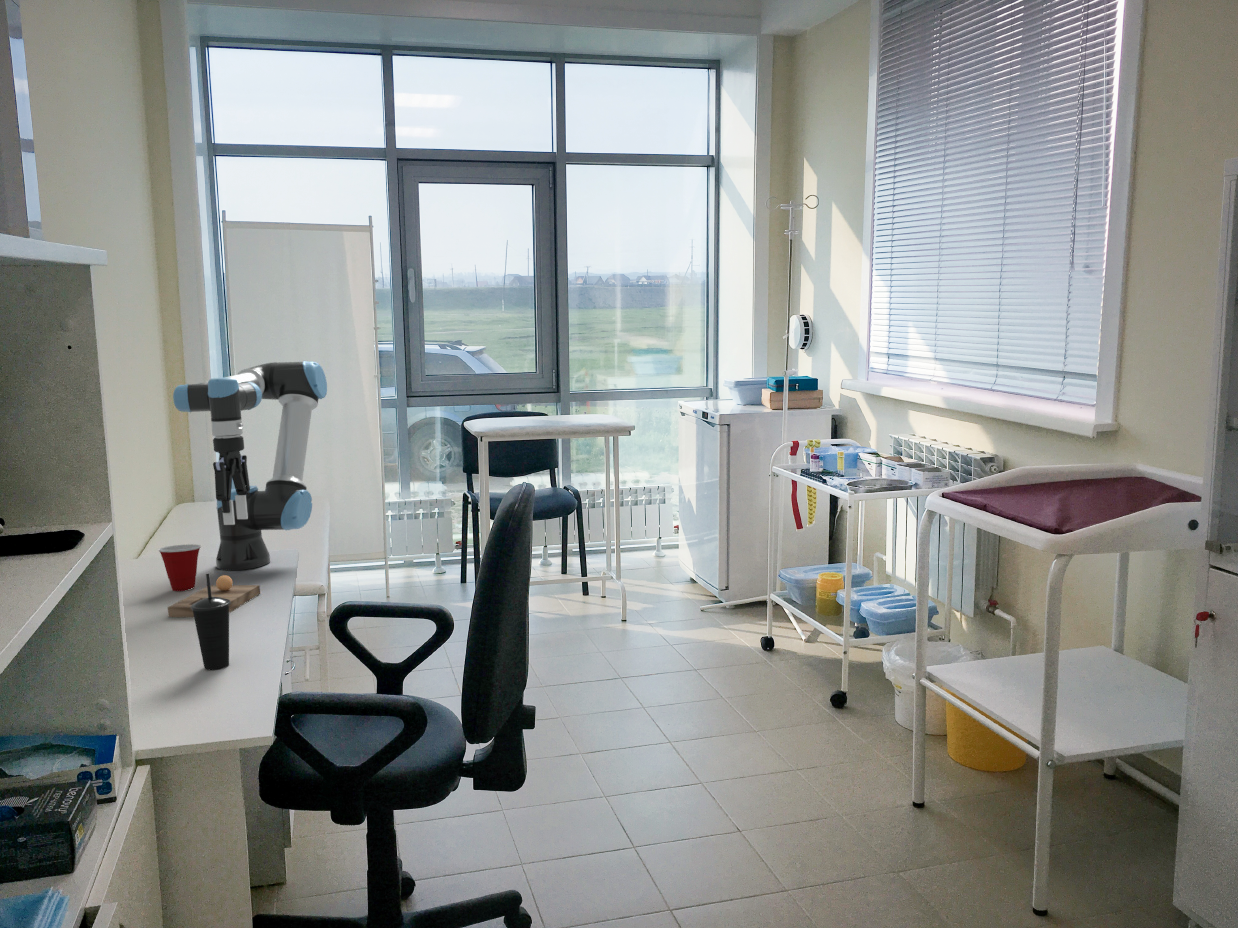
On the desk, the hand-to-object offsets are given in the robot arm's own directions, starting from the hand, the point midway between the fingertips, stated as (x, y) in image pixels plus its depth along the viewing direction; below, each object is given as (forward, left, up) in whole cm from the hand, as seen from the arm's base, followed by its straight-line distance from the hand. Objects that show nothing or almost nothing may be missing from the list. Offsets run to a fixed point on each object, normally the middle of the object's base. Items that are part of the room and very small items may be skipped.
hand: (236, 521), depth 263 cm
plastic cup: (-2, -18, -19) cm, 26 cm away
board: (+14, 0, -19) cm, 24 cm away
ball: (+9, 0, -14) cm, 17 cm away
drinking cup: (+58, +24, -19) cm, 66 cm away
